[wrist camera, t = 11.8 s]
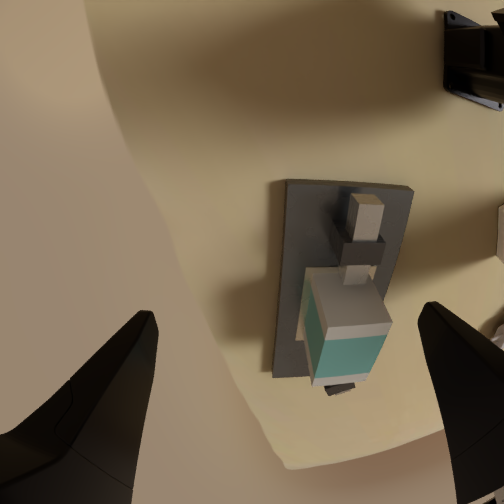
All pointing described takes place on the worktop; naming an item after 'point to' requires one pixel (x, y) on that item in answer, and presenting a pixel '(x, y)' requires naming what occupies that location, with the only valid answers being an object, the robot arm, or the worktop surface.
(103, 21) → the worktop surface
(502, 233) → the milk
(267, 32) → the worktop surface
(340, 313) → the block
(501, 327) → the charger
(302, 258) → the shaft stand
